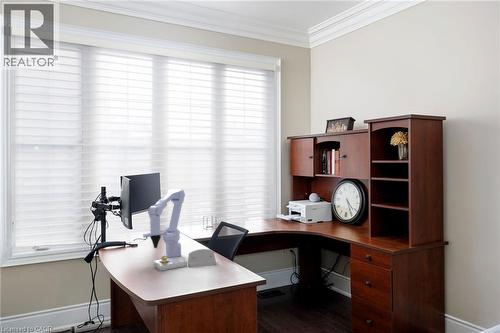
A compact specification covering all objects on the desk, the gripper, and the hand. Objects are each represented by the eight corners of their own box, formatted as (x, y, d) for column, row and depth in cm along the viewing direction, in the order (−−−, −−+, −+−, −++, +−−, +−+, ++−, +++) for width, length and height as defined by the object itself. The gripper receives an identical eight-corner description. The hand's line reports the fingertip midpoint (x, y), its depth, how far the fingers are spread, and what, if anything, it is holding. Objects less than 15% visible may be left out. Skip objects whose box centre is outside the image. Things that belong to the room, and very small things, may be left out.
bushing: (166, 265, 219) (166, 255, 218) (169, 267, 215) (169, 256, 215) (159, 266, 216) (159, 256, 216) (162, 268, 212) (161, 258, 212)
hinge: (189, 267, 214) (188, 250, 217) (188, 268, 218) (186, 251, 221) (217, 264, 220) (215, 247, 223) (215, 264, 224) (213, 248, 227)
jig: (178, 261, 227) (178, 256, 227) (186, 266, 217) (186, 261, 217) (153, 265, 218) (153, 260, 218) (160, 270, 208) (160, 265, 208)
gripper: (145, 227, 216) (145, 250, 216) (169, 225, 224) (169, 247, 224) (141, 226, 222) (142, 248, 222) (164, 223, 230) (165, 245, 230)
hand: (155, 247), depth 224 cm, fingers closed
